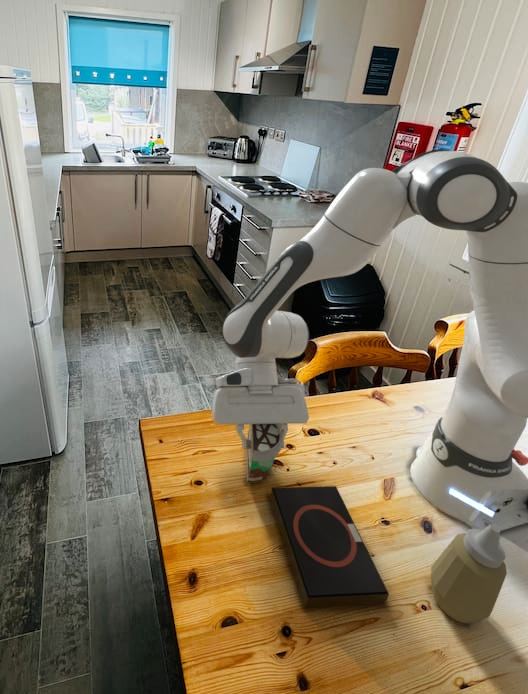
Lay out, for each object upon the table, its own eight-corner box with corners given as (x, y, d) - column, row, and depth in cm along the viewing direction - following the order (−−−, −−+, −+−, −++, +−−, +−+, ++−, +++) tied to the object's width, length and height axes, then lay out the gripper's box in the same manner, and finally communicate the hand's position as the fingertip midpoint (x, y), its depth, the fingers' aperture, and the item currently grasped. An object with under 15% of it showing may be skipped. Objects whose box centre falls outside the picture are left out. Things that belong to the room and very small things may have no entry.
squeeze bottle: (417, 599, 63) (455, 526, 56) (431, 561, 68) (467, 490, 61) (478, 647, 58) (529, 573, 51) (488, 602, 63) (535, 529, 56)
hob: (333, 495, 78) (336, 484, 77) (384, 604, 62) (389, 592, 61) (269, 497, 77) (272, 486, 76) (304, 608, 61) (308, 596, 60)
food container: (278, 495, 78) (287, 458, 74) (247, 489, 78) (253, 453, 74) (273, 444, 89) (280, 410, 85) (246, 439, 90) (252, 405, 86)
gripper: (297, 379, 90) (305, 446, 85) (208, 379, 88) (211, 448, 83) (308, 376, 84) (318, 448, 79) (213, 377, 82) (217, 450, 77)
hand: (263, 448), depth 81 cm, fingers closed on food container, 5 cm apart
